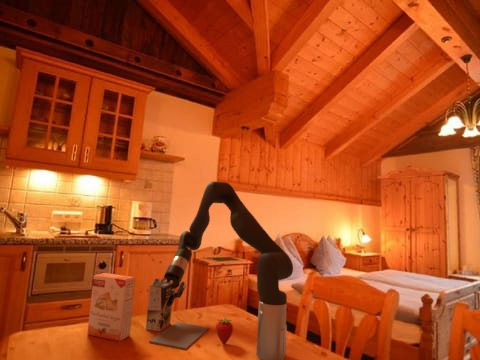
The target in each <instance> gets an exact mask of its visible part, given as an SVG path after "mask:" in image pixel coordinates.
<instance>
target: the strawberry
mask: <svg viewBox="0 0 480 360" xmlns="http://www.w3.org/2000/svg"><path fill="white" fill-rule="evenodd" d="M223 317H224V318H223V319H217V321H218V323H217V324H216V327H215V329H216V330H215V331H216V334H217V337H218V338H219V340H220V342H221V344H222V345H224V346H226V344H227V343H228V341H230V340H229V339H230V338H231V336H232V334H233V331H234V327H233V324H232V322H231V321H232V320H231V319H227V318H226V316H225V315H223Z"/></svg>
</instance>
